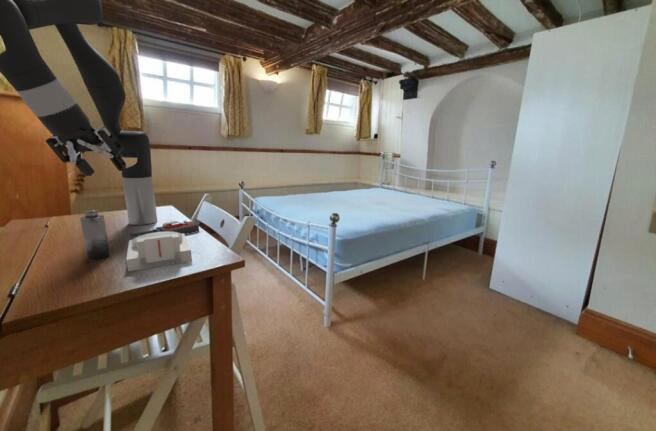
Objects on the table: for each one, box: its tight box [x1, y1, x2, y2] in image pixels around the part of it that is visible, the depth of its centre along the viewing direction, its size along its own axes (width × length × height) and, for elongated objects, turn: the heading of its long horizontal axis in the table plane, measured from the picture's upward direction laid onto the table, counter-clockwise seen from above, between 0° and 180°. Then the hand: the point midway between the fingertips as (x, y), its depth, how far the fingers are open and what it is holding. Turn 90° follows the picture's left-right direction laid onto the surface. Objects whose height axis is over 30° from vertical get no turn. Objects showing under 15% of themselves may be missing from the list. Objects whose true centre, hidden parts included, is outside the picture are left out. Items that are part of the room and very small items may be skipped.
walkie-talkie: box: [129, 220, 200, 238], centre depth 98 cm, size 9×4×20 cm
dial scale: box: [126, 232, 193, 272], centre depth 79 cm, size 17×14×8 cm
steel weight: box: [79, 209, 111, 261], centre depth 77 cm, size 5×5×13 cm
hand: (107, 171), depth 71 cm, fingers open, 8 cm apart
